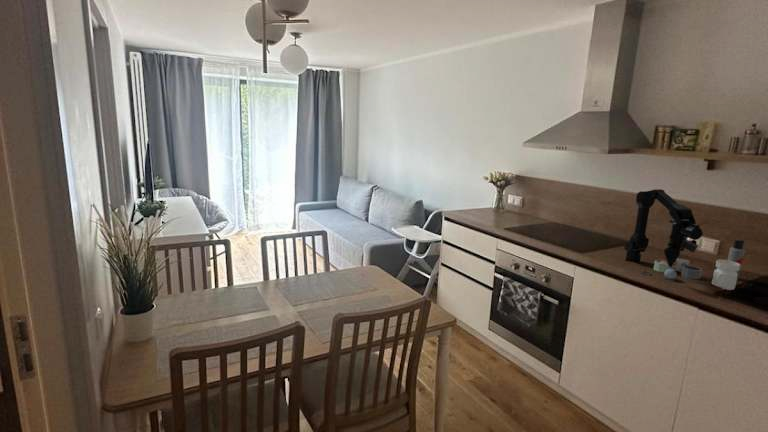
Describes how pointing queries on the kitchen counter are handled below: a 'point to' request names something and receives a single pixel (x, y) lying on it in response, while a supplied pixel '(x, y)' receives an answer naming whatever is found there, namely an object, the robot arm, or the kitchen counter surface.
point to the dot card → (679, 264)
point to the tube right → (691, 272)
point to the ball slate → (670, 273)
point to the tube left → (661, 266)
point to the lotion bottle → (737, 253)
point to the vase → (725, 274)
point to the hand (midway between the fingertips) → (672, 264)
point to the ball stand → (651, 273)
